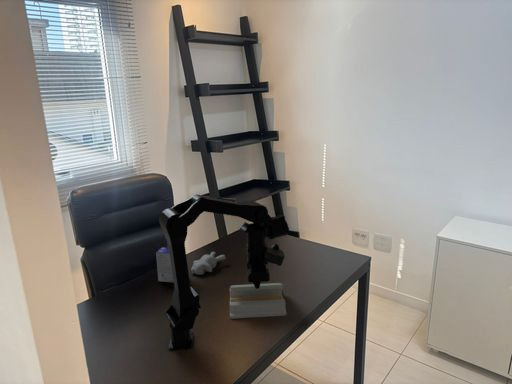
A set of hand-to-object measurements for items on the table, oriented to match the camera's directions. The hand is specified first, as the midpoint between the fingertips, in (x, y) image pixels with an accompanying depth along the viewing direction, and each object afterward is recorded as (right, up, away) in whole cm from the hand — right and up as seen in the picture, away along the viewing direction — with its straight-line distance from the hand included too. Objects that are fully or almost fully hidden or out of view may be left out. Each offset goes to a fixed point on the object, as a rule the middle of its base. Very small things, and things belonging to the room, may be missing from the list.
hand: (257, 288), depth 118 cm
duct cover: (0, -2, +7) cm, 7 cm away
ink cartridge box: (-32, -4, +26) cm, 42 cm away
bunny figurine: (-20, -1, +35) cm, 40 cm away
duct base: (0, -7, +9) cm, 11 cm away
